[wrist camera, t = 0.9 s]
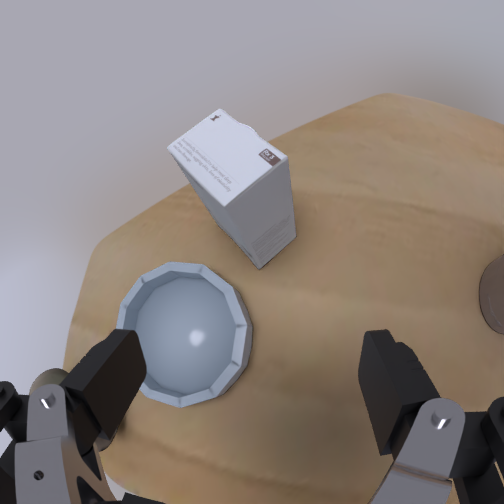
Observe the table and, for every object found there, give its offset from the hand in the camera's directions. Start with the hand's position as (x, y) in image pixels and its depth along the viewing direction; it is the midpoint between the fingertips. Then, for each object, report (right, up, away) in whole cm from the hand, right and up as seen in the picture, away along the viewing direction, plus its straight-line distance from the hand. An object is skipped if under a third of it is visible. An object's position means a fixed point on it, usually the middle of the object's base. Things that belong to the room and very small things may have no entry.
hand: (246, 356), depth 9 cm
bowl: (-7, -6, +21) cm, 23 cm away
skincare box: (+1, +6, +24) cm, 25 cm away
